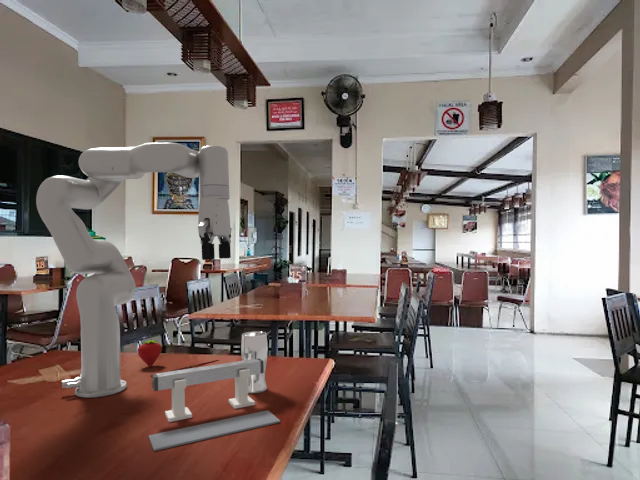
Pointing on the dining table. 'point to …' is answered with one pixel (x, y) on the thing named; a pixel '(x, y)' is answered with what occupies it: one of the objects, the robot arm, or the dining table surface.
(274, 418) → the mat
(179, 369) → the chopstick
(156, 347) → the strawberry
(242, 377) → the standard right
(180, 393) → the standard left
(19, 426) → the dining table surface
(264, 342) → the silver metal cup
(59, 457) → the dining table surface
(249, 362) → the steel rail
